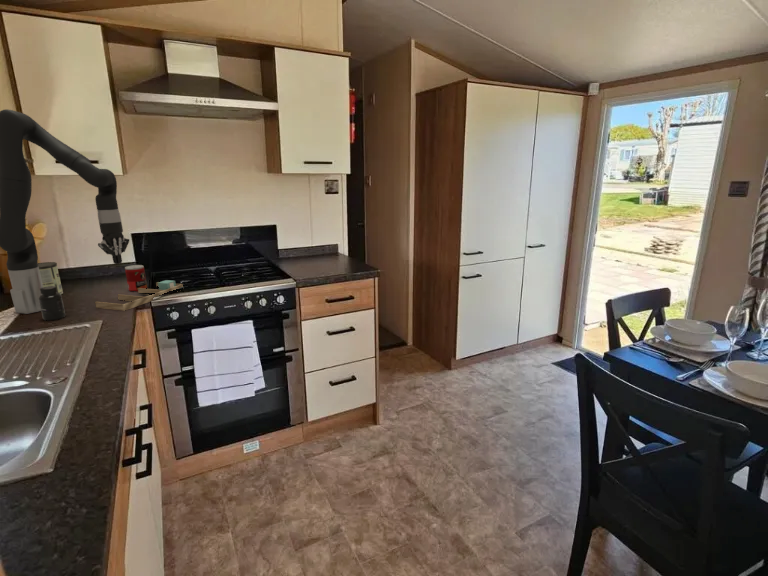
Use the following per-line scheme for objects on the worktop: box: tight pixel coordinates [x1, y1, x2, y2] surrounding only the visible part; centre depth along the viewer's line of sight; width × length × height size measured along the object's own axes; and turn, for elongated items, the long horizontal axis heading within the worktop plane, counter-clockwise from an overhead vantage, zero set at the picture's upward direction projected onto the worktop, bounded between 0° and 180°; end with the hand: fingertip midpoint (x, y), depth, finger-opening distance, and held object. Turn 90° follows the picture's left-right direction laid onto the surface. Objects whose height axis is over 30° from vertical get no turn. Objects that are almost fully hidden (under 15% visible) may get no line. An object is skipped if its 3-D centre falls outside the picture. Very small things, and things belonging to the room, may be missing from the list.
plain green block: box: [158, 279, 177, 290], centre depth 191 cm, size 5×5×5 cm
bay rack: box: [94, 281, 184, 312], centre depth 183 cm, size 32×15×2 cm, turn 164°
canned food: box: [124, 264, 148, 292], centre depth 195 cm, size 8×8×11 cm
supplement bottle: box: [39, 286, 66, 322], centre depth 157 cm, size 7×7×12 cm
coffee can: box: [38, 261, 64, 295], centre depth 187 cm, size 10×10×14 cm
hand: (118, 263), depth 170 cm, fingers closed
